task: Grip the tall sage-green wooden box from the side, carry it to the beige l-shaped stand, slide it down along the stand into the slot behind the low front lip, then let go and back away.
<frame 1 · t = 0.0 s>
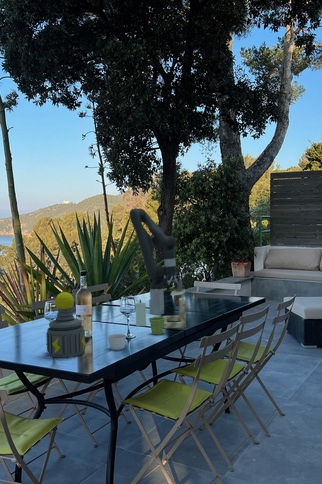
hand: (172, 289, 331), 17 cm above the table, tool pointing down, fingers open, 8 cm apart
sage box: (141, 325, 301), on the table
plant pot: (157, 334, 277), on the table
decorative lamp: (66, 353, 241), on the table
candle: (117, 348, 247), on the table
beige l-shaped stand: (173, 324, 302), on the table
architectural model: (178, 305, 374), on the table
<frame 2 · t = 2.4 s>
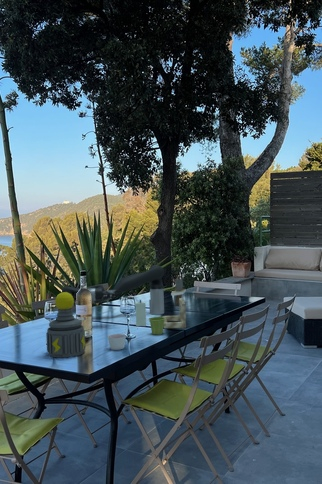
hand: (121, 293, 300), 20 cm above the table, tool horizontal, fingers open, 8 cm apart
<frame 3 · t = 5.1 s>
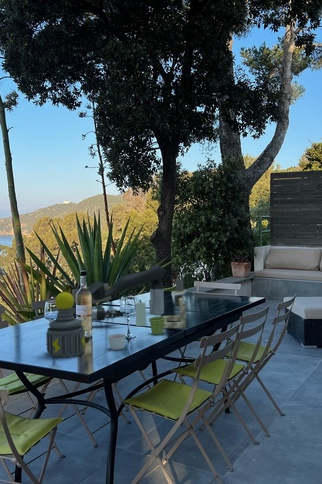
hand: (123, 313, 301), 8 cm above the table, tool horizontal, fingers open, 8 cm apart
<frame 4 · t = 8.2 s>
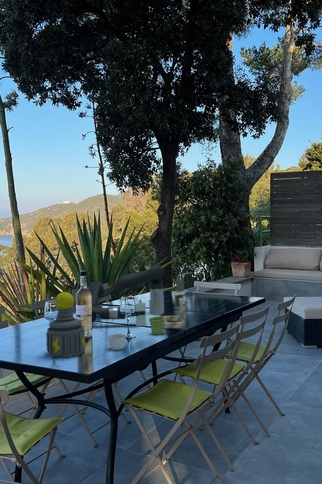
hand: (145, 312, 301), 8 cm above the table, tool horizontal, fingers closed on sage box, 5 cm apart
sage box: (141, 325, 302), on the table, touching gripper
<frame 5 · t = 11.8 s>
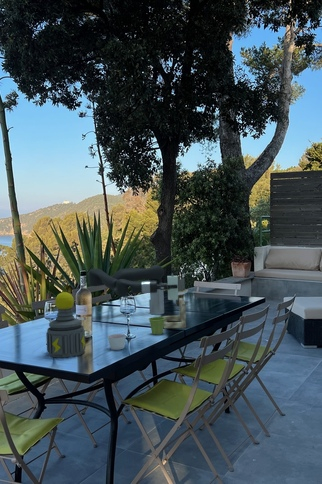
hand: (176, 285, 301), 23 cm above the table, tool horizontal, fingers closed on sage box, 5 cm apart
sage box: (173, 299, 302), point 15 cm above the table, touching gripper
when the fingers open (9 cm above the table, at t = 15.4 s): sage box drops 1 cm, resting in beige l-shaped stand.
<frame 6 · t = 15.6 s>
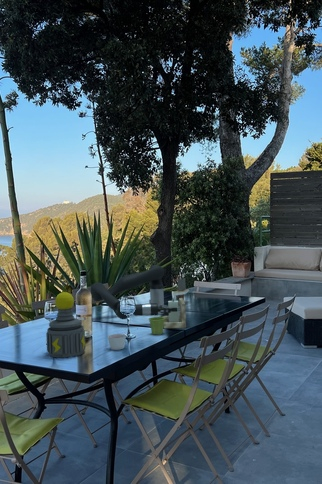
hand: (177, 308, 302), 10 cm above the table, tool horizontal, fingers open, 7 cm apart
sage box: (173, 324, 302), resting in beige l-shaped stand
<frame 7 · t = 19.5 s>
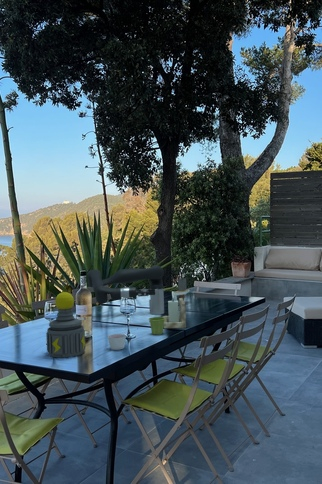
hand: (155, 291, 301), 20 cm above the table, tool horizontal, fingers open, 8 cm apart
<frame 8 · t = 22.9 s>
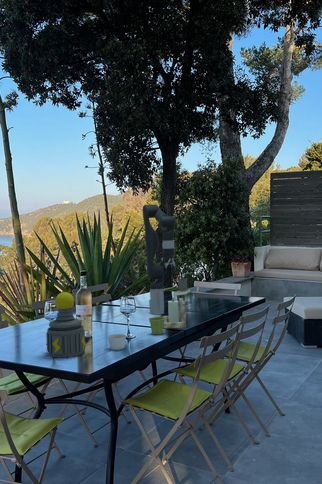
hand: (169, 273, 314), 30 cm above the table, tool pointing down, fingers open, 8 cm apart
at the end: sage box 0.1 cm off-centre on the beige l-shaped stand, point 0.0 cm above the beige l-shaped stand's base; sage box tilted 0°; the gripper is holding nothing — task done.
